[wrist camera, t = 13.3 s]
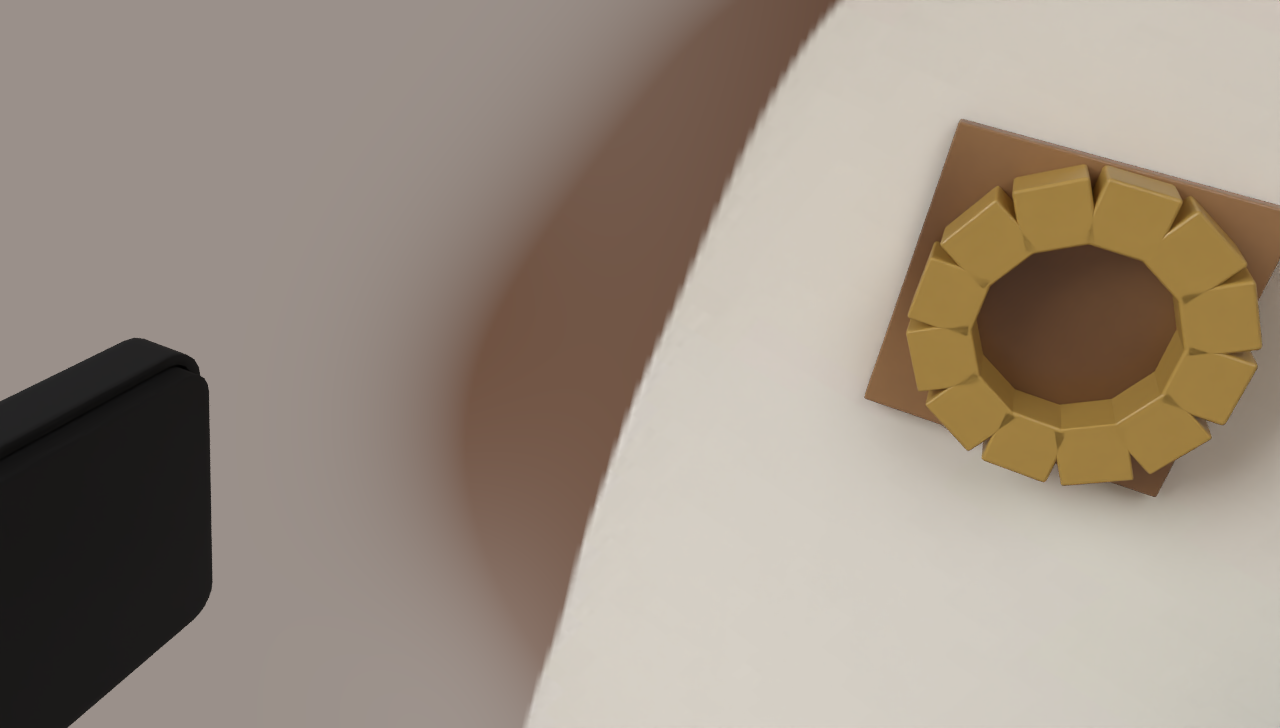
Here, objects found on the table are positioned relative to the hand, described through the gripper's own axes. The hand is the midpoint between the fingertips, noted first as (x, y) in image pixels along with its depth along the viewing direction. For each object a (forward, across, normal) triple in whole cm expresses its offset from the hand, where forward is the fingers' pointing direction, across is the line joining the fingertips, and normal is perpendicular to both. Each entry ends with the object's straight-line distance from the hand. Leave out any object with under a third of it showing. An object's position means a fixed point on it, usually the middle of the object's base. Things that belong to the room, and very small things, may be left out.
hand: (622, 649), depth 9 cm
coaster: (+20, -5, +3) cm, 21 cm away
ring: (+20, -6, +3) cm, 21 cm away
